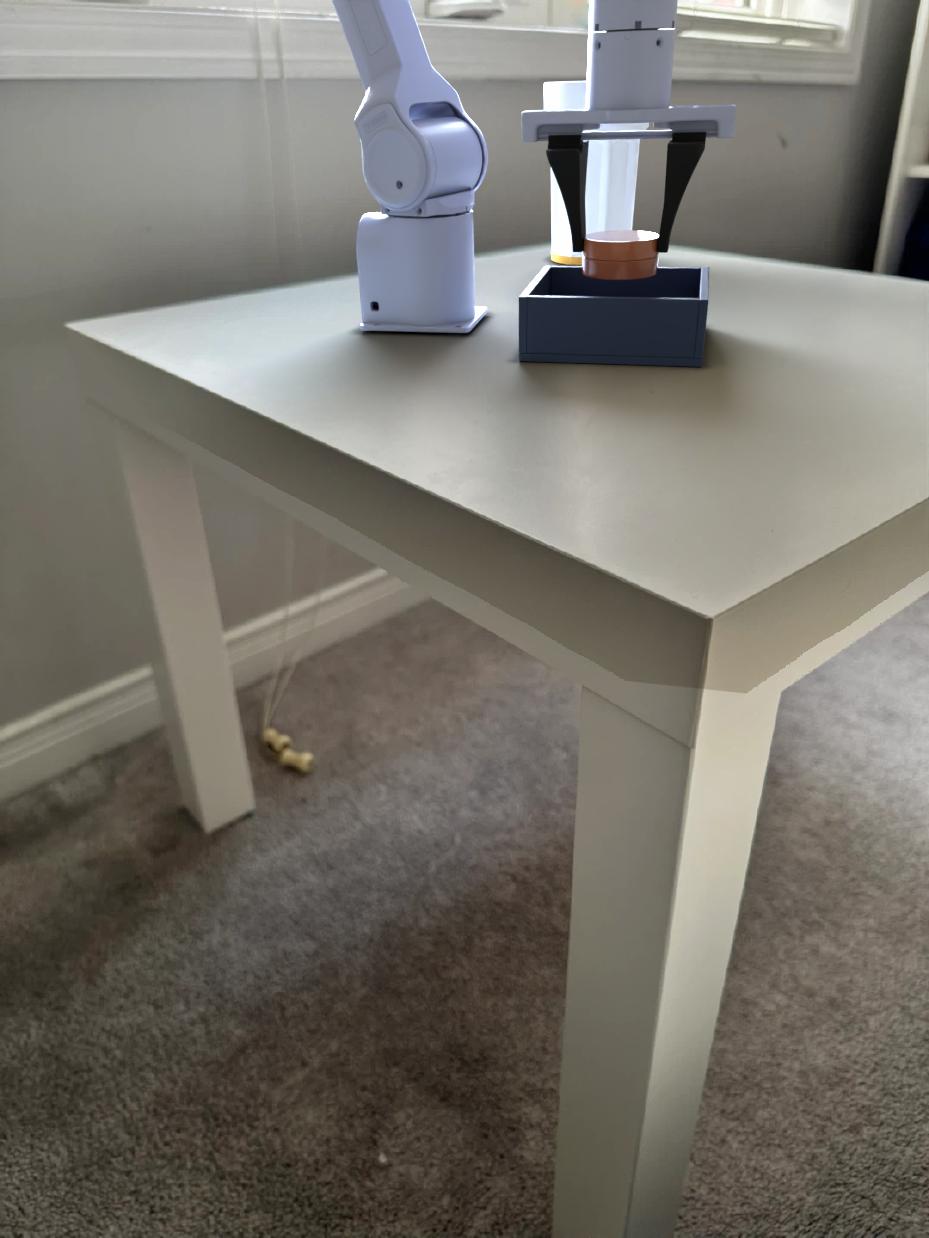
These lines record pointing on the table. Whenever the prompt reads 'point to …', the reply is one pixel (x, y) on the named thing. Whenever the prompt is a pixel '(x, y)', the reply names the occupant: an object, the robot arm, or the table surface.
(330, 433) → the table surface
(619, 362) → the tub
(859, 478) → the table surface
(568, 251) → the cup
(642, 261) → the orange round tin
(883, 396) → the table surface
